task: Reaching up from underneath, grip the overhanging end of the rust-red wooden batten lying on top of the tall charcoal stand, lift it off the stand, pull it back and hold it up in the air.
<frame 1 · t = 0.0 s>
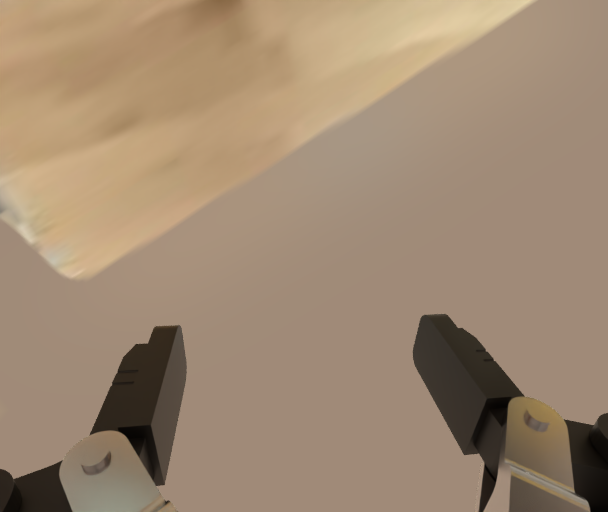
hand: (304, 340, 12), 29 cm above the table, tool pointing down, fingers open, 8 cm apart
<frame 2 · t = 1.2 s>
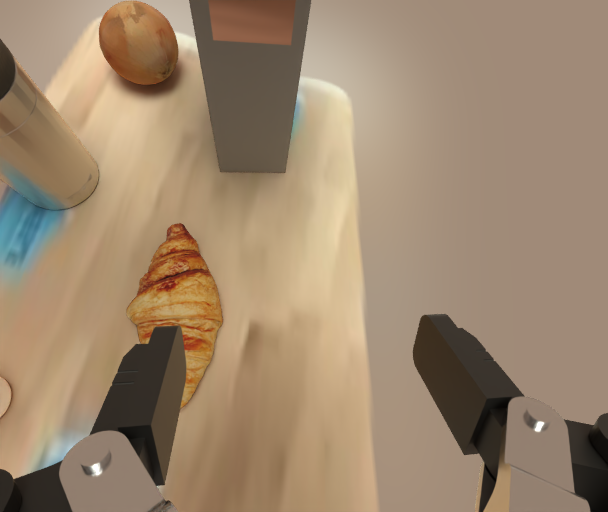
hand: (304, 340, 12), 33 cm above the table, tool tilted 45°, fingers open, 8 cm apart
onion: (150, 73, 53), on the table
croissant: (180, 314, 44), on the table
stand: (252, 135, 52), on the table
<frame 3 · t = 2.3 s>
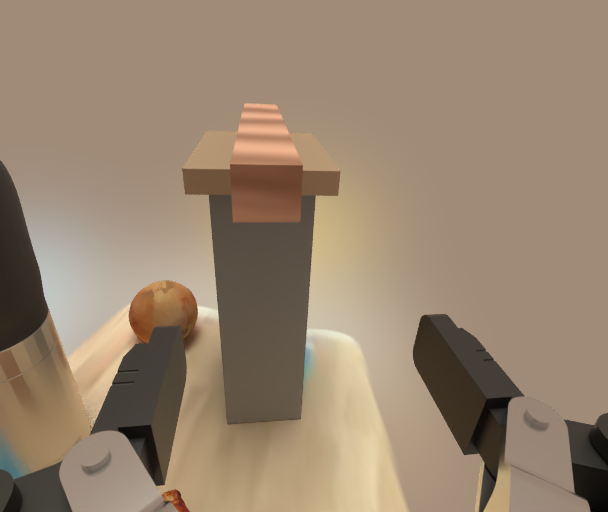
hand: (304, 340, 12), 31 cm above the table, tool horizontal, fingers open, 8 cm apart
onion: (168, 338, 57), on the table
batten: (262, 160, 30), point 32 cm above the table, touching stand
stand: (263, 383, 50), on the table
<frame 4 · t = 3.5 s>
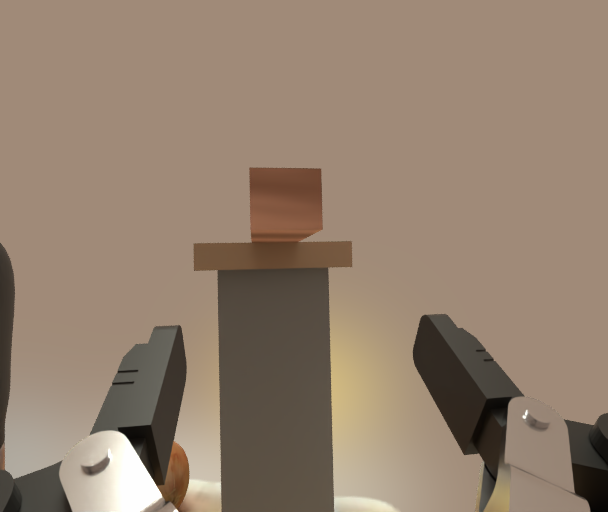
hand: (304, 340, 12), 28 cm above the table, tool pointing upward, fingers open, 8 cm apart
batten: (272, 244, 30), point 32 cm above the table, touching stand
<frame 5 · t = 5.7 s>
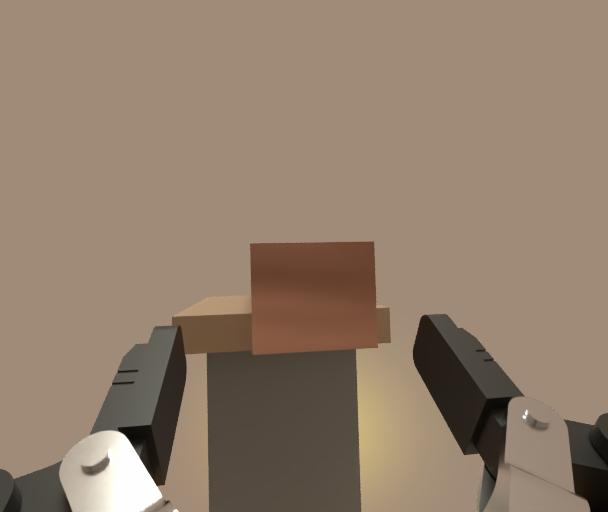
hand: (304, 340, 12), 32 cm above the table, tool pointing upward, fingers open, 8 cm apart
batten: (281, 306, 23), point 32 cm above the table, touching stand
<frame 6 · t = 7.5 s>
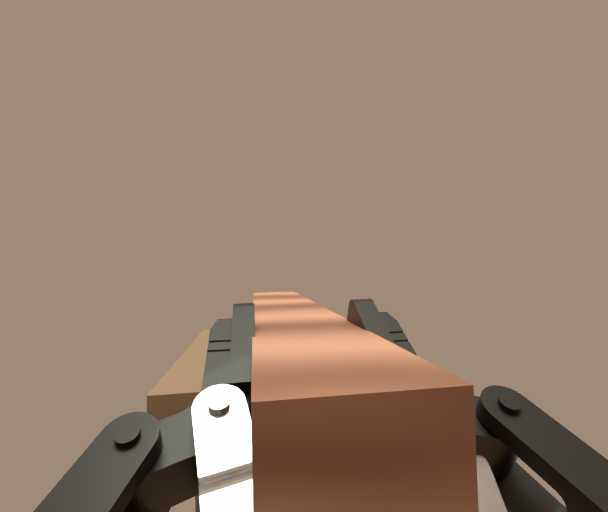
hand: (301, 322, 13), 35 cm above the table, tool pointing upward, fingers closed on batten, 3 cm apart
batten: (288, 366, 18), point 32 cm above the table, touching gripper, stand
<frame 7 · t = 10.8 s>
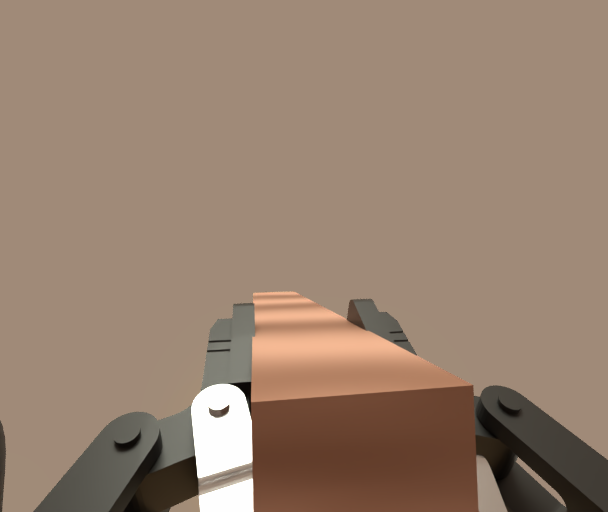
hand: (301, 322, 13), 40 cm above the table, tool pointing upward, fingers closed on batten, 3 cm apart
batten: (288, 366, 18), point 37 cm above the table, touching gripper
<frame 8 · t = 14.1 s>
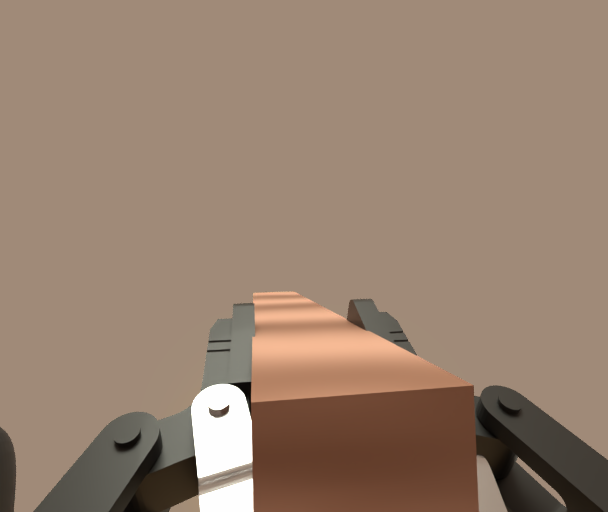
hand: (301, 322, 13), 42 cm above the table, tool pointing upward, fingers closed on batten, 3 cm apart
batten: (288, 366, 18), point 39 cm above the table, touching gripper
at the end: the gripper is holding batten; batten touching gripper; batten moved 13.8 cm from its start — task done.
